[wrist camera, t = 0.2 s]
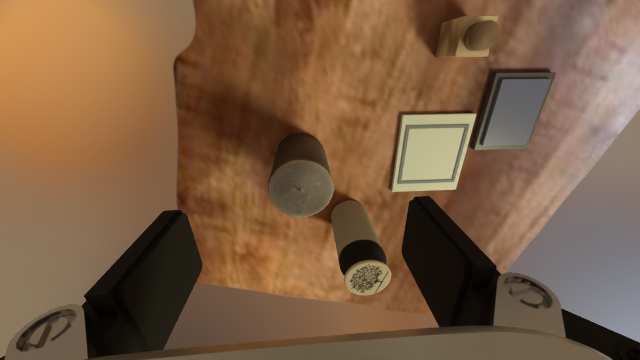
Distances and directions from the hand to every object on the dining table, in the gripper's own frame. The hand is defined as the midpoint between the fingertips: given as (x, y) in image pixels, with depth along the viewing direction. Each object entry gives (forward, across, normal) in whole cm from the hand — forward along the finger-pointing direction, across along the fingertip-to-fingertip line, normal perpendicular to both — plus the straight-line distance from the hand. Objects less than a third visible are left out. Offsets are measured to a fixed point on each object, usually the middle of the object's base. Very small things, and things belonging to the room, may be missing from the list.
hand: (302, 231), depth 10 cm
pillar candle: (+37, +1, +10) cm, 38 cm away
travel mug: (+37, -9, +24) cm, 45 cm away
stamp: (+36, -26, -9) cm, 46 cm away
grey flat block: (+36, -39, +3) cm, 54 cm away
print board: (+36, -25, +11) cm, 46 cm away
